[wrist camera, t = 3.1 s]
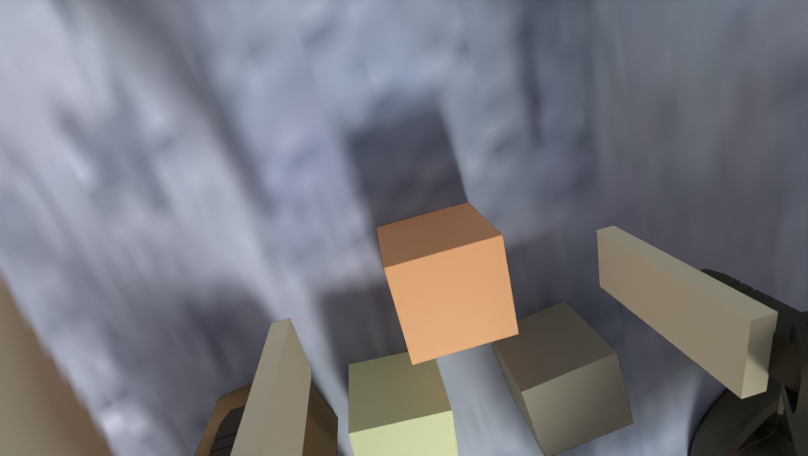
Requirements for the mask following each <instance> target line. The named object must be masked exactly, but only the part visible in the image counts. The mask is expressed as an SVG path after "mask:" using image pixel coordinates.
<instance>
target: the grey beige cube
mask: <svg viewBox="0 0 808 456" xmlns="http://www.w3.org/2000/svg"><path fill="white" fill-rule="evenodd" d="M517 327H518V333H519V334H517V335H513V336H510V337H506V338H503V339H500V340H496V341H493V342H491V343H492V346H493V348H494V351H495V353H496V356H497V359H498V361H499V364H500V367H501V369H502V372H503V375H504V377H505V380H506V382H507V385H508V388H509V390H510V393H511V394H512V396H513V398H514V400H515V402H516V404H517V406H518V408H519V410H520V411H521V413H522V415H523V417H524V419H525V421H526V423H527V425H528V427H529V428H530V430H531V432H532V434H533V436H534V438H535V440H536V442H537V444H538V445H539V447H540V449H541V451H542V453H543V455H544V456H554V455H557V454H559V453H562V452H564V451H566V450H569V449H571V448H574V447H576V446H579V445H581V444H583V443H586V442H588V441H591V440H593V439H595V438H598V437H600V436H603V435H605V434H608V433H610V432H612V431H615V430H617V429H620V428H622V427H625V426H627V425H629V424H632V423H633V419H632V415H631V410H630V406H629V402H628V397H627V393H626V389H625V384H624V380H623V376H622V371H621V367H620V362H619V358H618V354H617V352H616V351H615V350H614V349H613V348H612V347H611V346H610V345H609V344H608V343H607V342H606V341H605V340H604V339H603V338H602V337H601V336H600V335H599V334H598V333H597V332H596V331H595V330H594V329H593V328H592V327H591V326H590V325H589V324H588V323H587V322H586V321H585V320H584V319H583V318H582V317H581V316H580V315H579V314H578V313H577V312H576V311H575V310H574V309H573V308H572V307H571V306H570V305H569V304H568V303H567V302H566V301H565V300H564V301H562V302H560V303H557V304H555V305H553V306H550V307H548V308H545V309H543V310H541V311H538V312H536V313H533V314H531V315H529V316H526V317H524V318H521V319H519V320H517Z"/></svg>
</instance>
